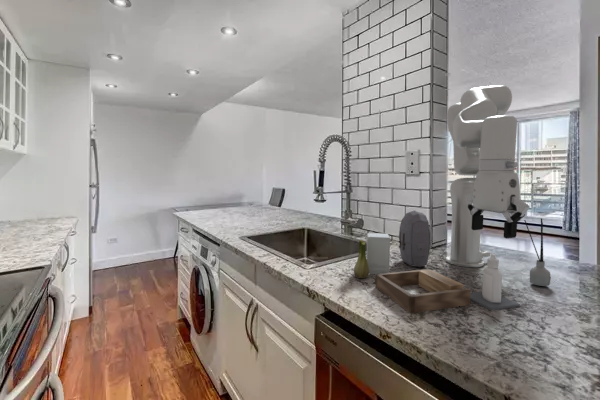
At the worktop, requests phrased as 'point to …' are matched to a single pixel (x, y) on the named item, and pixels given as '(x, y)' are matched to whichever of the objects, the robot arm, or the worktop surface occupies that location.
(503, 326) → the worktop surface
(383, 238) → the supplement box
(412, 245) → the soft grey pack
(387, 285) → the walnut rack
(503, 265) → the worktop surface
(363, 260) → the fennel bulb
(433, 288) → the wooden block
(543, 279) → the reed diffuser
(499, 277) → the eye dropper bottle
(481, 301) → the slate mat
